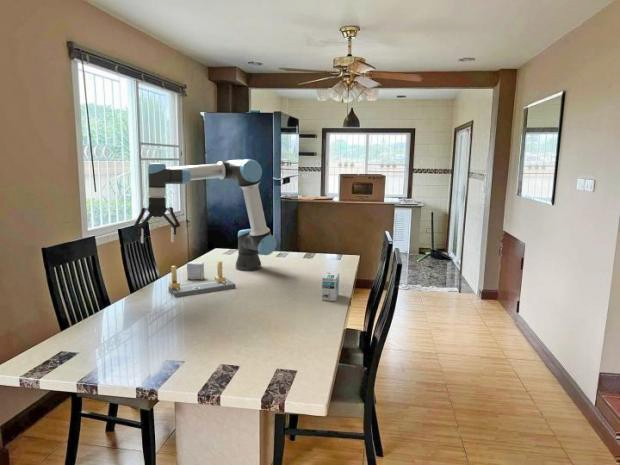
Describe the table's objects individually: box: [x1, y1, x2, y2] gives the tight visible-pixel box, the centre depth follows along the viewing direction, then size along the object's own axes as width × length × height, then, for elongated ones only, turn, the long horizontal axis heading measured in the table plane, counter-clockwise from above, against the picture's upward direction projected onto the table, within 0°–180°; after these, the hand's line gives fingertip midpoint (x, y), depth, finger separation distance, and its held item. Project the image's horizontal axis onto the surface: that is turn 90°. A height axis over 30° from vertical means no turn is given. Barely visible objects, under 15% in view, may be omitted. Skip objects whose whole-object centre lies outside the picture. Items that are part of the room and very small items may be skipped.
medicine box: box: [186, 261, 205, 281], centre depth 236 cm, size 8×4×9 cm, turn 84°
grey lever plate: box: [167, 260, 236, 298], centre depth 217 cm, size 30×12×12 cm, turn 122°
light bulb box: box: [321, 272, 340, 302], centre depth 207 cm, size 11×7×11 cm, turn 168°
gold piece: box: [168, 265, 181, 291], centre depth 210 cm, size 4×9×10 cm, turn 32°
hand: (157, 242), depth 206 cm, fingers open, 13 cm apart
